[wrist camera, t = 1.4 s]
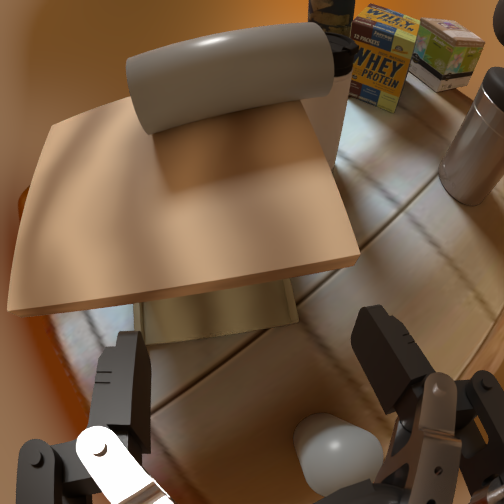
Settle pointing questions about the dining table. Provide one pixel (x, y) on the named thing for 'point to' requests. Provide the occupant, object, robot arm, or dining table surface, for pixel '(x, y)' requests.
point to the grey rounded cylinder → (335, 453)
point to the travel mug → (333, 97)
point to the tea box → (445, 54)
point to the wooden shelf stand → (180, 221)
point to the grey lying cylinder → (229, 74)
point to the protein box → (382, 55)
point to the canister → (332, 15)
